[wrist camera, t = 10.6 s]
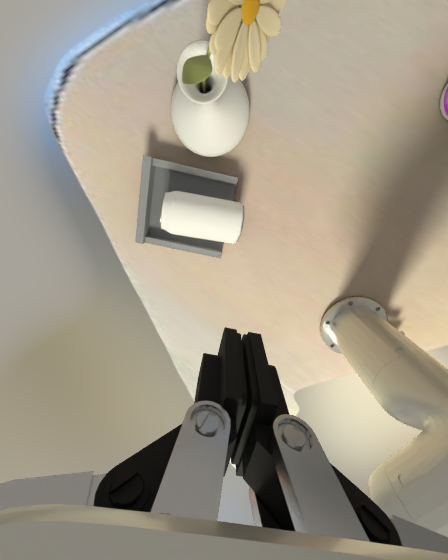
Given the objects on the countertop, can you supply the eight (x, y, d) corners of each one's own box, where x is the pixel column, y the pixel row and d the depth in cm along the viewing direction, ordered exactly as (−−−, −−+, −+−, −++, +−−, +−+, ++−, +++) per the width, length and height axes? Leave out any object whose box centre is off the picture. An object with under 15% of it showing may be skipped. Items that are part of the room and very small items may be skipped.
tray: (237, 178, 39) (238, 177, 36) (221, 254, 43) (220, 260, 40) (150, 158, 38) (143, 155, 35) (142, 238, 42) (135, 242, 39)
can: (236, 215, 42) (166, 202, 40) (246, 194, 36) (164, 179, 34) (233, 249, 41) (161, 238, 39) (243, 234, 35) (157, 220, 33)
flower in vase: (201, 173, 39) (165, 142, 15) (157, 103, 36) (25, -72, 12) (272, 121, 36) (357, -11, 13) (231, 41, 33) (245, -332, 10)
